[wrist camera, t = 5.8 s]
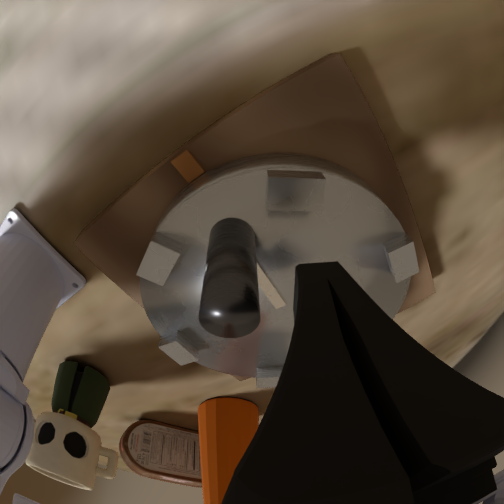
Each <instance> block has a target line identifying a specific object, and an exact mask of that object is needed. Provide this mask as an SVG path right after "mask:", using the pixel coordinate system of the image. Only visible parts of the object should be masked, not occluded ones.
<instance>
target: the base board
mask: <svg viewBox="0 0 504 504" xmlns="http://www.w3.org/2000/svg"><path fill="white" fill-rule="evenodd" d="M264 153H296V154H305V155H310V156H314V157H318V158H322V159H326V160H328V161H331V162H333V163H336V164H338V165H340V166H343V167H344V168H346V169H348V170H349V171H351V172H353V173H354V174H356V175H358V176H359V177H360V178H361V179H362V180H364V181H365V182H366V183H367V184H368V185H369V186H371V188H372V189H373V190H374V191H375V192H376V193H377V195H378V196H379V197H380V198H381V199H382V201H383V202H384V203H385V204H386V206H387V207H388V208H389V209H390V211H391V212H392V213H393V214H394V216H395V217H396V218H397V219H398V221H399V222H400V224H401V226H402V228H403V230H404V232H405V233H406V232H407V233H408V235H409V236H410V237H411V239H412V240H413V242H414V247H415V252H416V257H417V262H418V268H419V272H418V273H416V274H414V275H412V276H411V279H410V284H409V288H408V291H407V294H406V297H405V300H404V302H403V303H402V305H401V307H400V309H399V311H398V313H399V312H401V311H403V310H405V309H407V308H409V307H411V306H412V305H414V304H416V303H418V302H420V301H421V300H423V299H425V298H427V297H428V296H430V295H432V294H434V293H435V288H434V283H433V279H432V275H431V271H430V267H429V263H428V260H427V256H426V252H425V249H424V245H423V242H422V238H421V235H420V232H419V229H418V225H417V222H416V219H415V216H414V213H413V210H412V207H411V204H410V201H409V199H408V196H407V193H406V190H405V188H404V185H403V182H402V180H401V177H400V174H399V172H398V169H397V167H396V164H395V162H394V159H393V157H392V155H391V152H390V150H389V148H388V145H387V143H386V141H385V139H384V136H383V134H382V132H381V130H380V128H379V125H378V123H377V121H376V119H375V117H374V115H373V113H372V111H371V109H370V107H369V105H368V103H367V101H366V99H365V97H364V95H363V93H362V91H361V89H360V87H359V86H358V84H357V82H356V80H355V78H354V77H353V75H352V73H351V71H350V69H349V68H348V66H347V64H346V62H345V61H344V59H343V57H342V56H341V54H340V53H332V54H329V55H327V56H325V57H323V58H321V59H319V60H318V61H316V62H314V63H312V64H310V65H308V66H306V67H304V68H302V69H301V70H299V71H297V72H295V73H293V74H292V75H290V76H288V77H286V78H285V79H283V80H281V81H279V82H278V83H276V84H274V85H273V86H271V87H269V88H268V89H266V90H264V91H263V92H261V93H259V94H258V95H256V96H254V97H253V98H251V99H250V100H248V101H246V102H245V103H243V104H242V105H240V106H239V107H237V108H236V109H234V110H233V111H231V112H230V113H228V114H227V115H225V116H224V117H222V118H221V119H219V120H218V121H216V122H215V123H213V124H212V125H210V126H209V127H208V128H206V129H205V130H203V131H202V132H200V133H199V134H198V135H196V136H195V137H193V138H192V139H191V140H189V141H188V142H187V143H185V144H184V145H183V146H181V147H180V148H179V149H177V150H176V151H175V152H173V153H172V154H171V155H169V156H168V157H167V158H166V159H164V160H163V161H162V162H160V163H159V164H158V165H157V166H155V167H154V168H153V169H152V170H150V171H149V172H148V173H147V174H145V175H144V176H143V177H142V178H141V179H139V180H138V181H137V182H136V183H135V184H133V185H132V186H131V187H130V188H129V189H127V190H126V191H125V192H124V193H123V194H122V195H121V196H119V197H118V198H117V199H116V200H115V201H114V202H113V203H111V204H110V205H109V206H108V207H107V208H106V209H105V210H104V211H103V212H102V213H100V214H99V215H98V216H97V217H96V218H95V219H94V220H93V221H92V222H91V223H90V224H89V225H88V226H87V227H86V228H84V229H83V230H82V232H81V233H80V235H79V236H78V237H77V239H76V240H75V242H74V243H73V244H74V245H75V246H76V247H77V248H78V249H79V250H80V251H81V252H82V253H83V254H84V255H85V256H86V257H87V258H88V259H89V260H90V261H92V262H93V263H94V264H95V265H96V266H97V267H98V268H99V269H100V270H101V271H102V272H103V273H104V274H105V275H106V276H108V277H109V278H110V279H111V280H112V281H113V282H114V283H115V284H116V285H118V286H119V287H120V288H121V289H122V290H123V291H124V292H125V293H127V294H128V295H129V296H130V297H131V298H132V299H134V300H135V301H136V302H137V303H138V304H139V305H141V306H142V307H143V308H144V306H143V302H142V297H141V293H140V276H137V275H136V274H137V271H138V269H139V266H140V264H141V261H142V259H143V257H144V255H145V252H146V250H147V248H148V245H149V243H150V241H151V238H152V236H153V233H154V231H155V229H156V226H157V224H158V222H159V220H160V218H161V216H162V215H163V213H164V211H165V210H166V208H167V207H168V205H169V204H170V203H171V202H172V201H173V199H174V198H175V197H176V196H177V195H178V194H179V193H180V192H181V191H182V190H183V189H184V188H185V187H186V186H187V185H189V184H190V183H191V182H192V181H194V180H195V179H197V178H198V177H200V176H201V175H203V174H204V173H206V172H208V171H210V170H212V169H214V168H216V167H218V166H220V165H222V164H224V163H227V162H230V161H233V160H237V159H240V158H243V157H247V156H253V155H258V154H264ZM144 309H145V308H144ZM232 376H233V377H235V378H236V379H238V380H239V381H242V380H245V379H248V378H251V377H243V376H237V375H232Z"/></svg>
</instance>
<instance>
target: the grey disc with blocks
mask: <svg viewBox="0 0 504 504" xmlns="http://www.w3.org/2000/svg"><path fill="white" fill-rule="evenodd" d="M334 261H338V262H339V263H340V264H341V265H342V266H343V268H344V269H345V270H346V271H347V272H348V273H349V274H350V275H351V276H352V278H353V279H354V280H355V281H356V282H357V283H358V284H359V285H360V286H361V287H362V289H363V290H364V291H365V292H366V293H367V294H368V295H369V296H370V297H371V298H372V299H373V300H374V301H375V302H376V303H377V305H378V306H379V307H380V308H381V309H382V310H383V311H384V312H385V313H386V314H387V315H388V316H389V317H390V318H391V319H392V320H393V318H394V317H395V315H396V314H397V313H398V311H399V309H400V307H401V305H402V303H403V302H404V300H405V297H406V294H407V291H408V288H409V284H410V279H411V276H412V275H414V274H416V273H418V272H419V268H418V262H417V257H416V252H415V247H414V242H413V240H412V239H411V237H410V236H409V235H408V233H407V232H406V233H405V232H404V230H403V228H402V226H401V224H400V222H399V221H398V219H397V218H396V217H395V216H394V214H393V213H392V212H391V211H390V209H389V208H388V207H387V206H386V204H385V203H384V202H383V201H382V199H381V198H380V197H379V196H378V195H377V193H376V192H375V191H374V190H373V189H372V188H371V186H369V185H368V184H367V183H366V182H365V181H364V180H362V179H361V178H360V177H359V176H358V175H356V174H354V173H353V172H351V171H349V170H348V169H346V168H344V167H343V166H340V165H338V164H336V163H333V162H331V161H328V160H326V159H322V158H318V157H314V156H310V155H305V154H296V153H264V154H258V155H253V156H247V157H243V158H240V159H237V160H233V161H230V162H227V163H224V164H222V165H220V166H218V167H216V168H214V169H212V170H210V171H208V172H206V173H204V174H203V175H201V176H200V177H198V178H197V179H195V180H194V181H192V182H191V183H190V184H189V185H187V186H186V187H185V188H184V189H183V190H182V191H181V192H180V193H179V194H178V195H177V196H176V197H175V198H174V199H173V201H172V202H171V203H170V204H169V205H168V207H167V208H166V210H165V211H164V213H163V215H162V216H161V218H160V220H159V222H158V224H157V226H156V229H155V231H154V233H153V236H152V238H151V241H150V243H149V245H148V248H147V250H146V252H145V255H144V257H143V259H142V261H141V264H140V266H139V269H138V271H137V274H136V275H137V276H140V293H141V297H142V302H143V306H144V308H145V311H146V314H147V316H148V318H149V320H150V321H151V323H152V325H153V326H154V328H155V329H156V331H157V332H158V333H159V334H160V336H161V337H160V340H159V345H158V348H160V349H161V350H162V351H163V352H164V353H166V354H167V355H168V356H169V357H171V358H172V359H173V360H174V361H176V362H177V363H178V364H179V365H181V366H182V365H185V364H188V363H191V362H196V363H198V364H200V365H203V366H205V367H208V368H210V369H213V370H216V371H219V372H223V373H227V374H231V375H237V376H243V377H254V378H256V386H257V388H266V387H276V386H277V383H278V380H279V377H280V375H281V372H282V369H283V366H284V363H285V359H286V356H287V353H288V349H289V345H290V341H291V337H292V333H293V328H294V313H293V300H294V283H295V267H296V266H297V265H298V264H304V263H319V262H334Z"/></svg>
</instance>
